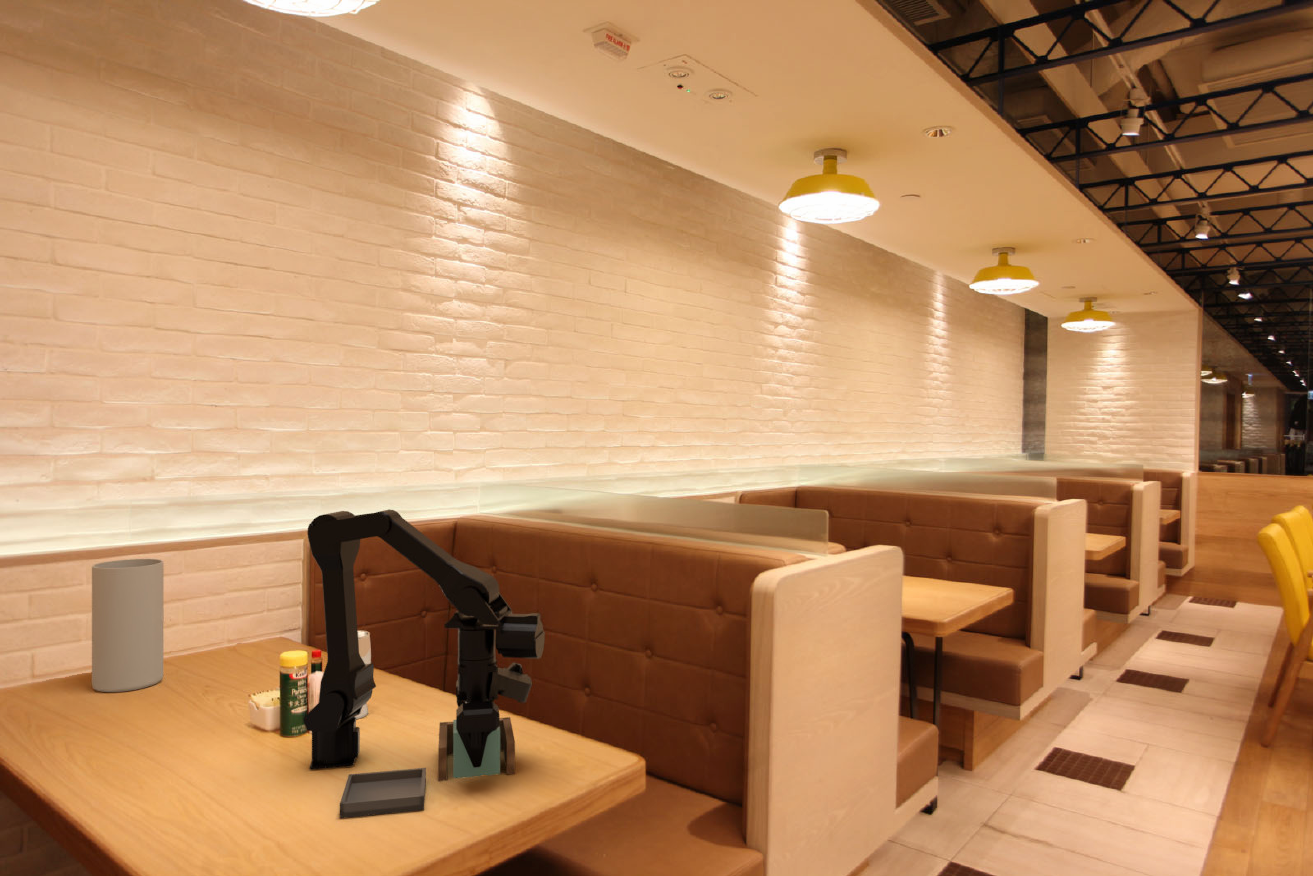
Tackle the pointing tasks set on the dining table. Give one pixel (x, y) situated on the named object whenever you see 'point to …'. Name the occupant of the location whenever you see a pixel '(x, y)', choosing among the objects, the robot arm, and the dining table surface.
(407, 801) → the gray tray
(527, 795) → the dining table surface
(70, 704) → the dining table surface
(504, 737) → the frame
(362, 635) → the beer glass
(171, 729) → the dining table surface
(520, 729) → the dining table surface
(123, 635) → the cylinder vase
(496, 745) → the teal block
